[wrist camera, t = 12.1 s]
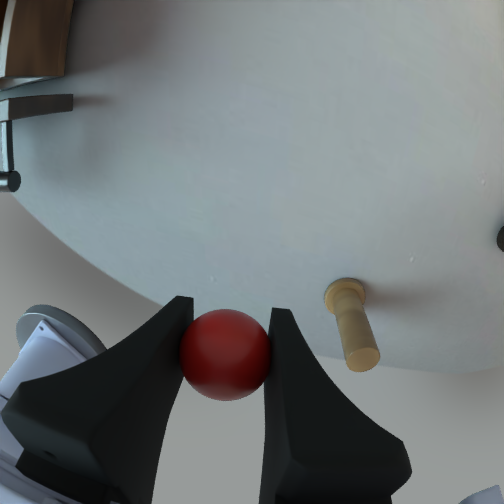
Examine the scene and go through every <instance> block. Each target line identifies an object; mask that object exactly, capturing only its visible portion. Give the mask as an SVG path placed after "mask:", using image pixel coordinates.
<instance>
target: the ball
mask: <svg viewBox="0 0 504 504" xmlns="http://www.w3.org/2000/svg"><path fill="white" fill-rule="evenodd" d="M179 363H180V367H181V370H182V373H183V375H184V377H185V378H186V380H187V381H188V383H189V384H190V385H191V386H192V387H193V388H194V389H195V390H196V391H198V392H199V393H201V394H202V395H204V396H206V397H208V398H211V399H215V400H221V401H231V400H237V399H241V398H243V397H246V396H248V395H250V394H251V393H253V392H254V391H256V390H257V389H258V388H259V387H260V386H261V385H262V384H263V382H264V381H265V379H266V378H267V376H268V374H269V371H270V365H271V343H270V340H269V337H268V335H267V333H266V332H265V330H264V329H263V327H262V326H261V325H260V324H259V323H258V322H257V321H256V320H255V319H253V318H252V317H250V316H249V315H247V314H245V313H242V312H240V311H236V310H231V309H220V310H214V311H210V312H207V313H205V314H203V315H201V316H200V317H198V318H197V319H195V320H194V321H193V322H192V323H191V324H190V325H189V326H188V328H187V329H186V331H185V332H184V334H183V336H182V338H181V342H180V346H179Z"/></svg>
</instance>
